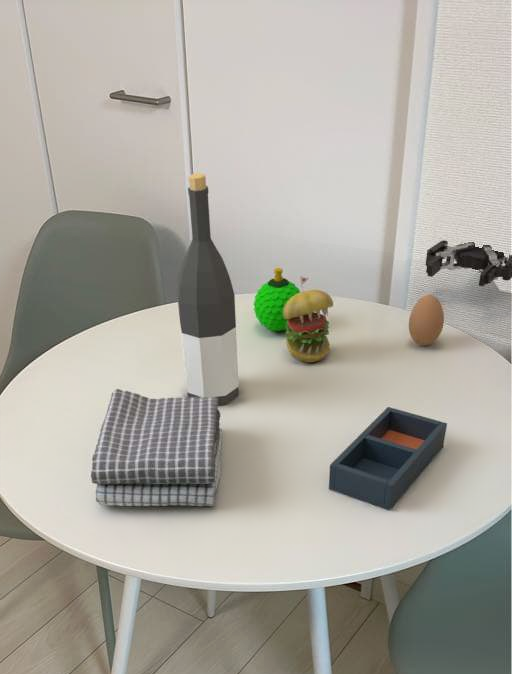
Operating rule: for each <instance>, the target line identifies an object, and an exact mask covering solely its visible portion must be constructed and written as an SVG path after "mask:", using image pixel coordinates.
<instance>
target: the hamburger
mask: <svg viewBox="0 0 512 674" xmlns="http://www.w3.org/2000/svg"><path fill="white" fill-rule="evenodd" d="M299 279H300V283H301V289H302V291H300V293H298V294H296V295H294V296H293V297H291V298H290V299H289V300H288V301H287V302H286V304H285V305H284V309H283V316H284V318H285V319H289V321H286V324H285V328H286V330H285V334H284V335H285V336H286V343H285V344H286V348H287V350H288V352H289V354H290V355H291V356H292V357H294V358H295V359H296V360H298V361H300V362H305V363H315V362H319V361H321V360H322V359H324V358H325V357H326V355H327V354H328V352H329V351H330V345H331V344H330V341H329V339H328V335H330V331H329V328H330V321H328V319H327V317H329V308H333V307H334V300H333V299H332V297H331V295H330V294H329V293H328V292H326V291H324V290H321V289H307V290H304V288H303V285H304V284H305V283H306V282H307V281H308V280H309V279H310V278H309V277H304V276H301V275H300V276H299ZM321 312H322V313H321Z"/></svg>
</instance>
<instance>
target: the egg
mask: <svg viewBox="0 0 512 674" xmlns="http://www.w3.org/2000/svg"><path fill="white" fill-rule="evenodd" d="M444 323H445V314H444V309H443V306H442V304H441V301H440V300H439V299H438V298H437V297H436V296H434V295H432V294H427V295H424V296H422V297H420V298H419V300H417V302H416V303H415V305H414V306H413V308H412V310H411V312H410V314H409V319H408V331H409V332H408V333H409V336H410V337H411V339H412V340H413V342H415V343H416V344H417V345H419V346H422V347H425V346H429V345H431V344H433V343H434V342H435V341H437V339H439V337H440V336H441V333H442V331H443V328H444Z"/></svg>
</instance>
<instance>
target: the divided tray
mask: <svg viewBox="0 0 512 674" xmlns="http://www.w3.org/2000/svg"><path fill="white" fill-rule="evenodd" d="M447 427H448V422H444V421H441V420H437V419H433V418H430V417H426V416H423V415H420V414H415V413H413V412H408V411H404V410H402V409H397V408H393V407H390V406H388V407H386V408H385V409H384V410H383V411H382V412H381V413H380V414H379V415H378V416H377V417H376V418H375V419H374V420H373V421H372V422H371V423H370V424H369V425H368V426H367V427H366V428H365V429H364V430H363V431H362V432H361V433H360V434H359V435H358V436H357V437H356V438H355V439H354V440H353V441H352V442H351V443H350V444H349V445H348V446H347V447H346V448H345V449H344V450H343V451H342V452H341V453H340V454H339V455H338V456H337V457H336V458H335V459H334V460H333V461H332V462H331V463H330V464H329V477H328V490H331V491H333V492H336V493H338V494H341V495H345V496H347V497H350V498H354V499H356V500H359V501H362V502H364V503H367V504H370V505H373V506H375V507H378V508H382V509H384V510H387V511H391V510H392V509H393V507H395V505H396V504H397V503H398V502H399V500H400V499H401V498H402V497H403V496H404V495H405V493H406V492H407V491H408V490H409V488H411V486H412V485H413V484H414V483H415V482H416V480H417V479H418V478H419V477H420V476H421V474H422V473H423V472H424V471H425V470H426V469H427V467H428V466H429V465H430V463H431V462H432V461H433V460H434V459H435V458H436V456H437V455H439V453H440V452H441V451H442V450H443V448H444V447H445V439H446V432H447Z"/></svg>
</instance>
